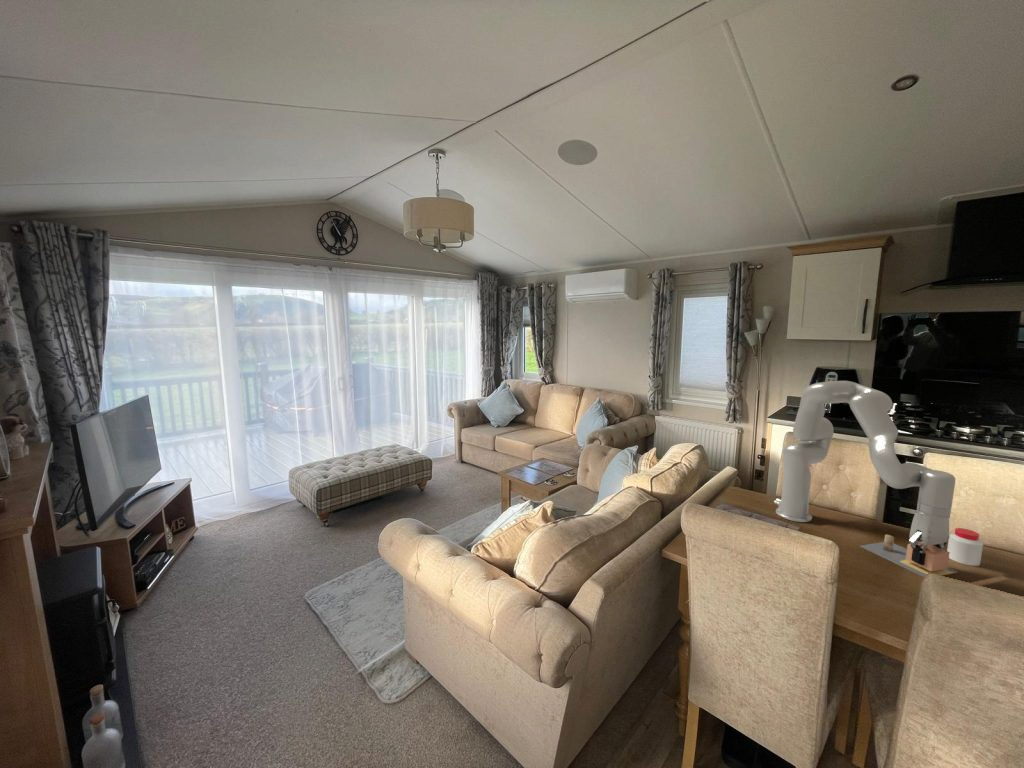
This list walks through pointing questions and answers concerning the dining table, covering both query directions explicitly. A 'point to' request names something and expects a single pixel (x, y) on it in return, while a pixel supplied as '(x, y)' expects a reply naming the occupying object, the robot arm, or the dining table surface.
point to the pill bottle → (965, 547)
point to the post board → (900, 556)
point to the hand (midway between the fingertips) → (926, 560)
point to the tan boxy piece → (931, 557)
